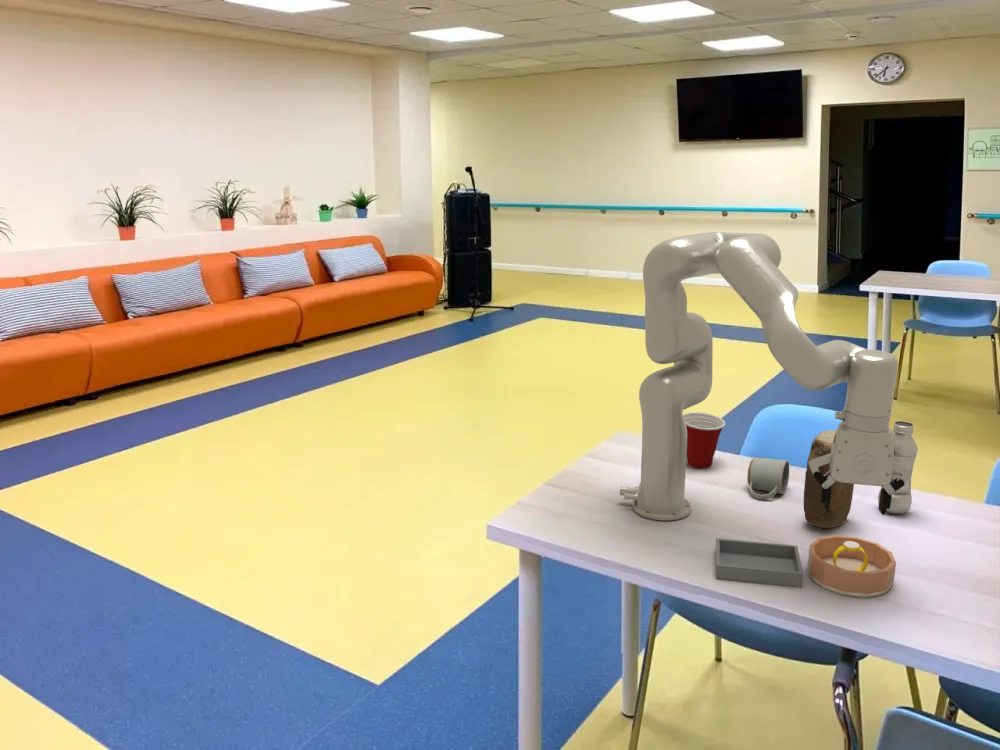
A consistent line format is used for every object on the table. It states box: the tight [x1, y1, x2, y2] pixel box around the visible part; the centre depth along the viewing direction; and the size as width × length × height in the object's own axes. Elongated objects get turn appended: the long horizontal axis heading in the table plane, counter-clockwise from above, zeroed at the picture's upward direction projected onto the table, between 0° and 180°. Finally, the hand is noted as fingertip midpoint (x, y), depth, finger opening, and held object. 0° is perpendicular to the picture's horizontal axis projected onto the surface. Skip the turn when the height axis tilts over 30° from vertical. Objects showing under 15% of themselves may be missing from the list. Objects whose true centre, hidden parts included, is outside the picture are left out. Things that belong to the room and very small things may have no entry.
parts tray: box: [715, 537, 804, 588], centre depth 165 cm, size 15×11×3 cm
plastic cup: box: [683, 411, 726, 469], centre depth 213 cm, size 11×11×12 cm
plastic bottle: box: [877, 420, 919, 515], centre depth 185 cm, size 6×7×20 cm
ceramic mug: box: [746, 457, 790, 501], centre depth 198 cm, size 11×8×8 cm
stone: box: [803, 429, 855, 529], centre depth 180 cm, size 12×7×20 cm, turn 133°
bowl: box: [807, 534, 897, 598], centre depth 161 cm, size 14×14×5 cm
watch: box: [832, 541, 868, 571], centre depth 160 cm, size 6×3×6 cm, turn 81°
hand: (853, 508), depth 158 cm, fingers open, 9 cm apart
